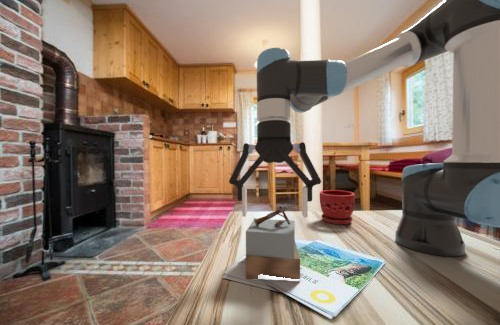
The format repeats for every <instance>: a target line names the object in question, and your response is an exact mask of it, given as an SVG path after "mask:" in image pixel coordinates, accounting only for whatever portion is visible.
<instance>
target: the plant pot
mask: <svg viewBox="0 0 500 325" xmlns="http://www.w3.org/2000/svg"><path fill="white" fill-rule="evenodd" d="M355 201H356V194H355V192H352V191H347V190H341V189H326V190H325V189H324V190H321V191H320V192H319V203H320V204H319V205H320V209H321V212H322V214H321V218H322V220H323V221H324V222H326V223H329V224H333V225H348V224H350V223H351V222H352V221H353V216H352V215H353V212H354V209H355Z"/></svg>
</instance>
